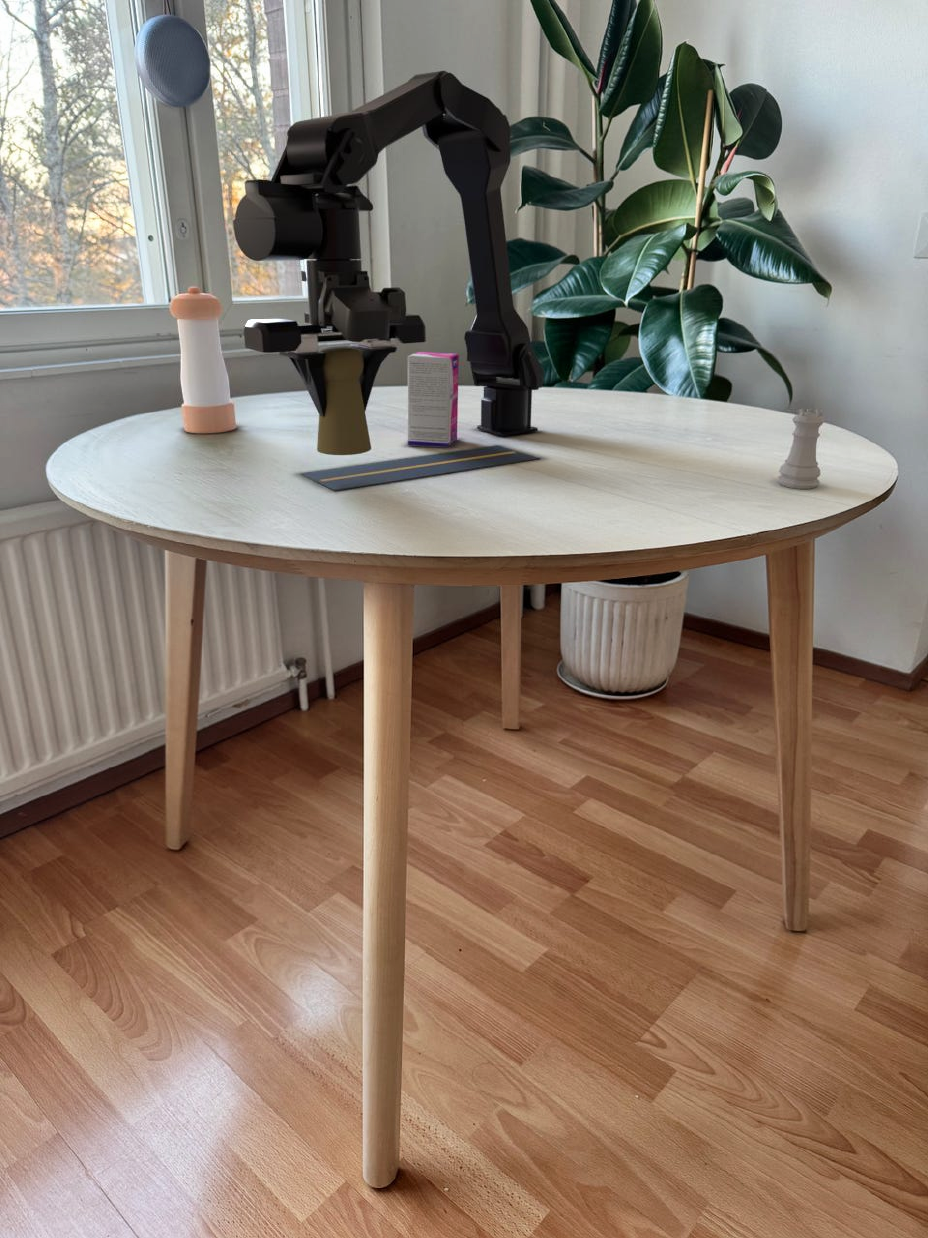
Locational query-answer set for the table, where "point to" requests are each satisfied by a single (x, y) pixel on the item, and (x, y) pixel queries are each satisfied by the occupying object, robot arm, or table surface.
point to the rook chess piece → (803, 452)
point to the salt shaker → (202, 364)
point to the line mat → (416, 467)
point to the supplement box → (432, 399)
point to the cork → (343, 404)
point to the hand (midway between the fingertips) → (342, 414)
